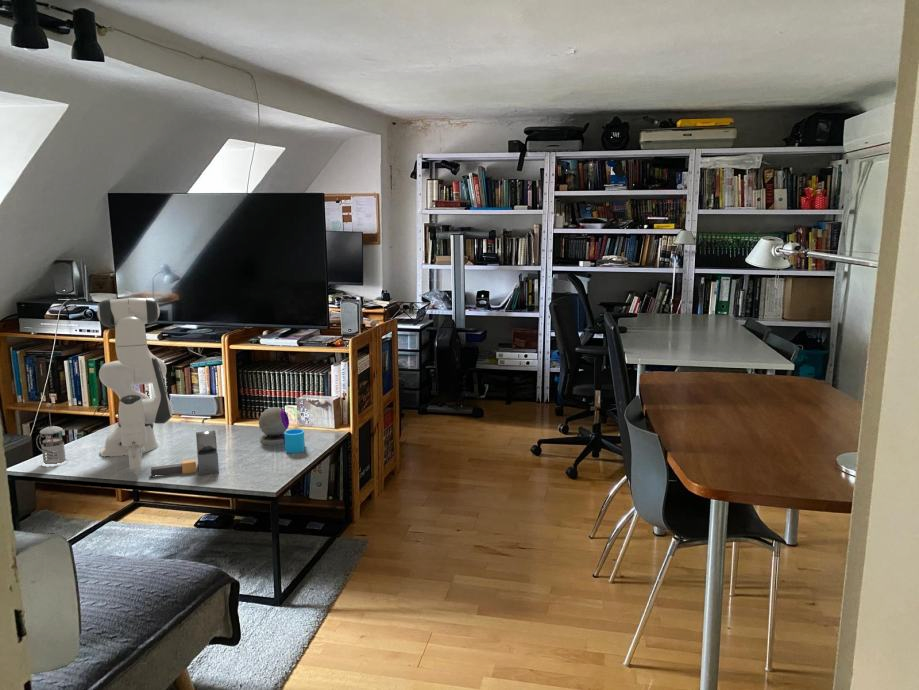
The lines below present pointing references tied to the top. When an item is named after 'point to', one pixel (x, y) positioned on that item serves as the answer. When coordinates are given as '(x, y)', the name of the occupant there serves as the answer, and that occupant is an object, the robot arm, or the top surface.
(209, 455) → the block
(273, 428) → the webcam
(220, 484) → the top surface
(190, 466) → the plug
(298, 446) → the mug
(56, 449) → the french press
